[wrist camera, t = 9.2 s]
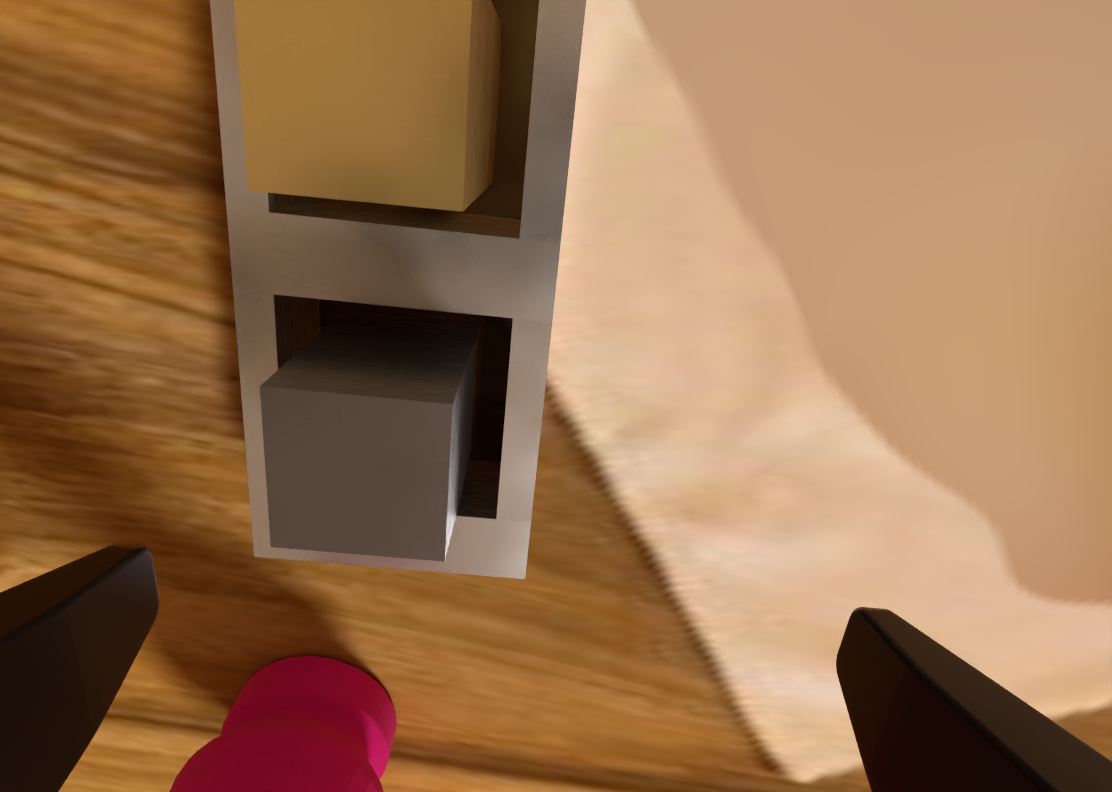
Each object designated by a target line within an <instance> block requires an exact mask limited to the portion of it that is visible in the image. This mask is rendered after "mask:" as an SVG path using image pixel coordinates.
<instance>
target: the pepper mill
mask: <svg viewBox="0 0 1112 792" xmlns="http://www.w3.org/2000/svg"><path fill="white" fill-rule="evenodd" d="M395 731H396V715H395V710H394V707H393V704H392V702H391V701H390V699H389V697H388V695H387V693H386V692H385V690H384V689H383V688H382V687H381V686H380V685H379V684H378V683H377V682H376V681H375V680H374V679H373V678H372V677H370V676H369V675H367V674H366V673H365V672H363V671H362V670H360V669H359V668H357V667H354V666H352V665H349V664H346V663H344V662H341V661H339V660H336V659H332V658H325V657H318V656H301V657H290V658H286V659H283V660H280V661H277V662H274V663H271V664H269V665H267V666H266V667H264V668H262V669H261V670H259V671H257V672H256V673H255V674H254V675H253V676H252V677H251V678H250V679H249V680H248V681H247V682H246V684H245V685H244V687H243V689H242V690H241V692H240V694H239V696H238V698H237V699H236V701H235V703H234V705H233V707H232V708H231V710H230V712H229V714H228V716H227V718H226V720H225V722H224V724H223V728H222V732H221V736H219V737H217V738H215V739H213V740H211V741H210V742H209V743H207V744H206V745H205V746H203V747H202V748H201V749H199V750H198V751H197V752H196V753H195V754H194V755H193V756H192V757H191V758H190V759H189V760H188V761H187V763H186V764H185V765H184V767H183V768H182V770H181V771H180V772H179V774H178V775H177V777H176V779H175V781H174V783H173V785H172V788H171V790H170V792H383V788H382V785H381V783H380V781H379V780H380V778H381V777H382V775H383V773H384V771H385V769H386V766H387V762H388V758H389V755H390V751H391V747H392V743H393V739H394V735H395Z"/></svg>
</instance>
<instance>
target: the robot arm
mask: <svg viewBox="0 0 1112 792" xmlns="http://www.w3.org/2000/svg"><path fill="white" fill-rule="evenodd" d="M158 609H159V595H158V588H157V581H156V575H155V568H154V561H153V557H152V554H151V552H150V551H149V550H148V549H147V548H145V547H139V546H128V545H111V546H108V547H106V548H103V549H101V550H99V551H96V552H94V553H92V554H89V555H87V556H85V557H82V558H80V559H78V560H75V561H73V562H71V563H68V564H66V565H64V566H61V567H59V568H57V569H54V570H52V571H50V572H47V573H45V574H43V575H40V576H38V577H36V578H33V579H31V580H29V581H26V582H24V583H22V584H19V585H17V586H15V587H12V588H10V589H8V590H5V591H3V592H1V593H0V792H58V791H59V790H60V788H61V787H62V785H63V784H64V782H65V781H66V779H67V777H68V776H69V774H70V773H71V771H72V770H73V768H74V767H75V765H76V764H77V762H78V761H79V759H80V758H81V756H82V754H83V753H84V751H85V750H86V748H87V746H88V745H89V743H90V742H91V740H92V738H93V737H94V735H95V733H96V732H97V730H98V728H99V726H100V724H101V723H102V721H103V719H104V717H105V715H106V713H107V712H108V710H109V708H110V706H111V704H112V702H113V700H114V698H115V696H116V694H117V692H118V690H119V689H120V687H121V685H122V683H123V681H124V679H125V677H126V675H127V673H128V671H129V669H130V667H131V665H132V664H133V662H134V660H135V658H136V656H137V654H138V652H139V650H140V648H141V646H142V644H143V642H144V641H145V639H146V637H147V635H148V633H149V631H150V629H151V627H152V625H153V623H154V621H155V619H156V616H157V613H158ZM836 668H837V674H838V678H839V682H840V685H841V689H842V692H843V696H844V699H845V703H846V706H847V710H848V713H849V717H850V720H851V724H852V727H853V730H854V734H855V737H856V741H857V744H858V748H859V751H860V755H861V758H862V762H863V765H864V769H865V772H866V775H867V778H868V782H869V785H870V788H871V791H872V792H1112V761H1111V760H1109V759H1108V758H1106V757H1105V756H1103V755H1102V754H1100V753H1099V752H1097V751H1096V750H1094V749H1093V748H1091V747H1090V746H1089V745H1087V744H1086V743H1084V742H1083V741H1081V740H1080V739H1078V738H1077V737H1075V736H1074V735H1072V734H1071V733H1069V732H1068V731H1066V730H1065V729H1064V728H1062V727H1061V726H1059V725H1058V724H1056V723H1055V722H1053V721H1052V720H1050V719H1049V718H1047V717H1046V716H1044V715H1043V714H1041V713H1040V712H1039V711H1037V710H1036V709H1034V708H1033V707H1031V706H1030V705H1028V704H1027V703H1025V702H1024V701H1022V700H1021V699H1019V698H1018V697H1017V696H1015V695H1014V694H1012V693H1011V692H1009V691H1008V690H1006V689H1005V688H1003V687H1002V686H1000V685H999V684H997V683H996V682H994V681H993V680H992V679H990V678H989V677H987V676H986V675H984V674H983V673H981V672H980V671H978V670H977V669H975V668H974V667H972V666H971V665H970V664H968V663H967V662H965V661H964V660H962V659H961V658H959V657H958V656H956V655H955V654H953V653H952V652H950V651H949V650H947V649H946V648H945V647H943V646H942V645H940V644H939V643H937V642H936V641H934V640H933V639H931V638H930V637H928V636H927V635H925V634H924V633H923V632H921V631H920V630H918V629H917V628H915V627H914V626H912V625H911V624H909V623H908V622H906V621H905V620H903V619H902V618H900V617H899V616H898V615H896V614H895V613H893V612H891V611H890V610H887V609H880V608H867V607H859V608H856V609H855V610H854V611H853V612H852V614H851V616H850V618H849V621H848V624H847V627H846V630H845V633H844V636H843V639H842V642H841V645H840V648H839V651H838V654H837V660H836Z"/></svg>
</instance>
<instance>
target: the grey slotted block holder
mask: <svg viewBox="0 0 1112 792" xmlns="http://www.w3.org/2000/svg"><path fill="white" fill-rule="evenodd" d="M585 6H586V0H539V8H538V20H537V32H536V44H535V56H534V69H533V81H532V93H531V105H530V117H529V129H528V141H527V153H526V165H525V178H524V190H523V202H522V214H521V219H514V218H505V217H496V216H486V215H477V214H467V213H458V212H449V211H439V210H430V209H420V208H411V207H402V206H392V205H383V204H373V203H364V202H355V201H345V200H336V199H326V198H317V197H308V196H298V195H288V194H278V193H268V192H257V191H248V186H247V173H246V159H245V146H244V133H243V119H242V106H241V93H240V79H239V66H238V52H237V39H236V26H235V12H234V0H210V9H211V21H212V34H213V46H214V59H215V71H216V84H217V96H218V109H219V122H220V134H221V147H222V159H223V172H224V184H225V197H226V209H227V222H228V234H229V247H230V259H231V272H232V284H233V297H234V309H235V322H236V334H237V347H238V359H239V372H240V384H241V397H242V410H243V422H244V435H245V447H246V460H247V472H248V485H249V497H250V510H251V522H252V535H253V547H254V557H265V558H277V559H289V560H301V561H313V562H325V563H337V564H349V565H361V566H374V567H386V568H398V569H410V570H422V571H434V572H446V573H458V574H470V575H482V576H495V577H507V578H519V579H525V573H526V564H527V554H528V545H529V536H530V526H531V517H532V507H533V498H534V488H535V479H536V469H537V460H538V450H539V441H540V431H541V422H542V413H543V403H544V394H545V384H546V375H547V365H548V356H549V346H550V337H551V327H552V318H553V308H554V299H555V290H556V280H557V271H558V261H559V252H560V242H561V233H562V223H563V214H564V204H565V195H566V185H567V176H568V167H569V157H570V148H571V138H572V129H573V119H574V110H575V100H576V91H577V81H578V72H579V62H580V53H581V44H582V34H583V25H584V15H585ZM320 299H325V300H335V301H345V302H355V303H352V304H351V305H350V306H349V307H348V308H347V309H345V310H344V311H343V312H342V313H341V314H340V315H339V316H338V317H336V318H335V319H334V320H333V321H332V322H331V323H330V324H329V325H328V326H326V327H325V328H324V329H323V330H322V331H321V315H320ZM362 303H365V304H362ZM372 304H375V305H372ZM382 305H385V306H382ZM392 306H395V307H392ZM402 307H405V308H402ZM412 308H415V309H412ZM422 309H425V310H422ZM432 310H435V311H432ZM442 311H445V312H442ZM452 312H455V313H452ZM462 313H465V314H462ZM472 314H475V315H472ZM482 315H485V316H495V317H505V318H513V323H512V335H511V347H510V359H509V371H508V384H507V396H506V408H505V420H504V432H503V444H502V456H501V462H497V461H486V460H475V459H470V457H471V453H472V449H473V445H474V441H475V437H476V432H477V417H478V402H479V387H480V371H481V356H482V341H483V326H484V316H482Z"/></svg>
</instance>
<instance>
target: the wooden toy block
mask: <svg viewBox="0 0 1112 792" xmlns="http://www.w3.org/2000/svg"><path fill="white" fill-rule="evenodd" d="M234 12H235V26H236V39H237V52H238V66H239V79H240V93H241V106H242V119H243V133H244V146H245V159H246V173H247V186H248V191H257V192H268V193H278V194H288V195H298V196H308V197H318V198H329V199H339V200H349V201H359V202H369V203H379V204H390V205H400V206H410V207H420V208H430V209H440V210H450V211H461V212H463V211H464V210H465V209H466V208H467V207H468V206H469V205H470V204H471V203H472V202H473V201H474V200H475V199H476V198H477V197H478V196H479V195H480V194H481V193H482V192H483V191H484V190H485V189H486V188H487V187H489V186H490V185H491V184H492V183H493V175H494V158H495V140H496V123H497V106H498V89H499V72H500V55H501V38H502V22H501V20H500V18H499V16H498V14H497V12H496V10H495V8H494V6H493V4H492V2H491V0H234Z"/></svg>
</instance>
